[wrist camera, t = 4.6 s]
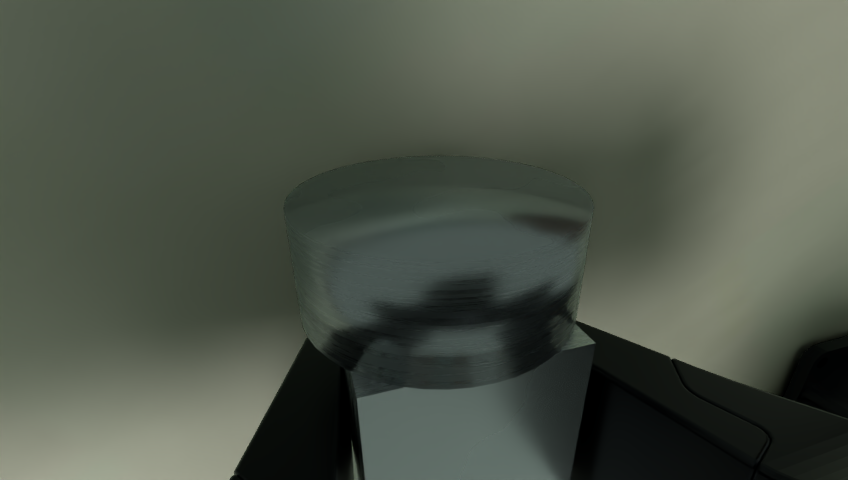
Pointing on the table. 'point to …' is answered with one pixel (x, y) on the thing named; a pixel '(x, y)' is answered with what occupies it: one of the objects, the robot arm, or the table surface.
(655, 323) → the table surface
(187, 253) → the table surface
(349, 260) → the shaft
